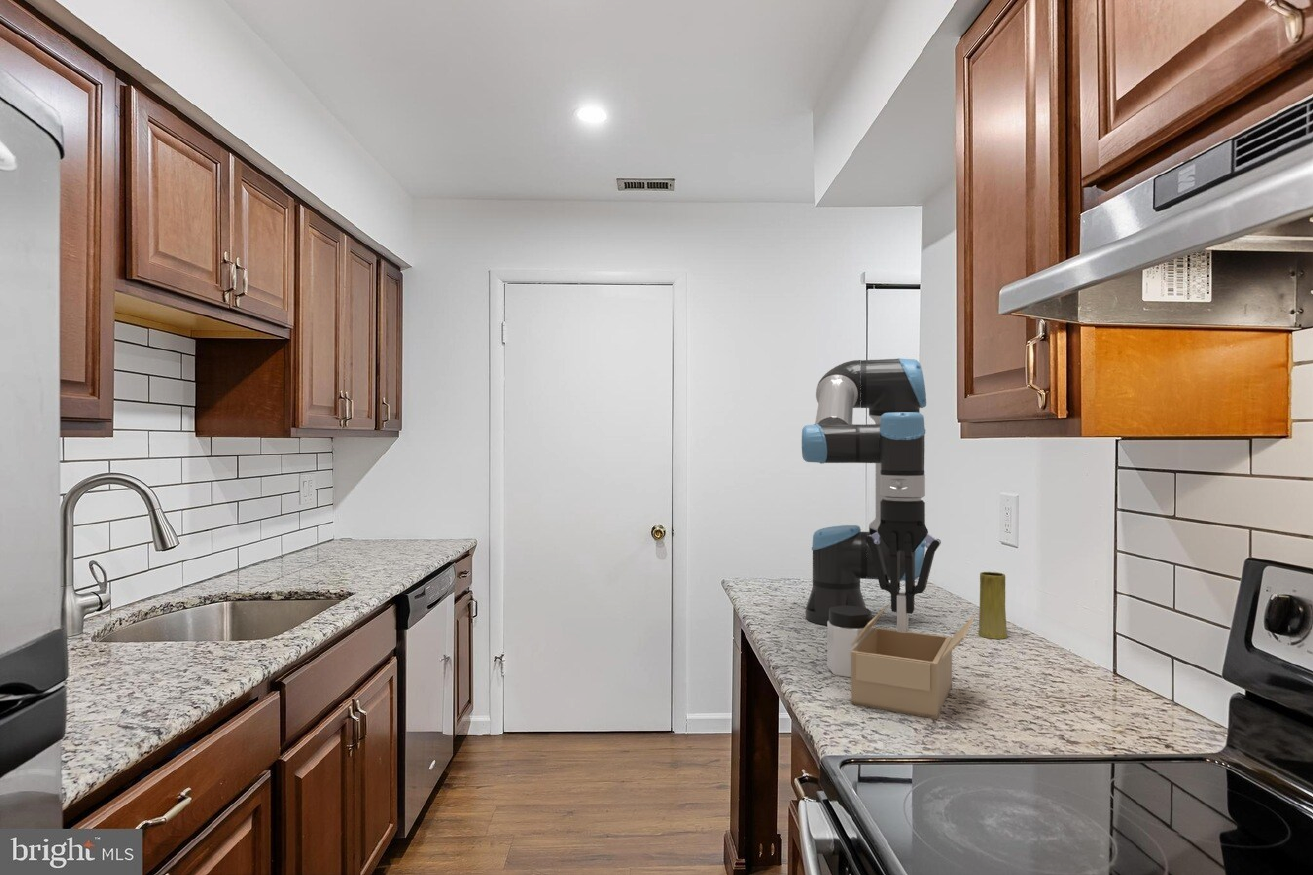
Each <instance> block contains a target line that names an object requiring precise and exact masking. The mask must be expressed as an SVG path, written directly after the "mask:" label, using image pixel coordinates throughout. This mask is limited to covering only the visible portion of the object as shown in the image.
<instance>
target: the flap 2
mask: <svg viewBox="0 0 1313 875" xmlns="http://www.w3.org/2000/svg"><path fill="white" fill-rule="evenodd" d="M974 619H975V616H974V615H972V616H971V617H970V619H968V620H967V621H966V622H965V623H964V624H963V625H962V626H961V627H960V628H959V629H958V630H957V631H956V632H955V633H954V634H953V636H952V640H951V642H950V644H949V645H948V647H947V649H946V651H945V653H944V654H943V656H942V658H943V659H944V658H945V657H946V656H947V655H948V654H949V653H950V652H951V651H952V652H953V650H954V649H955V648H956V647H957V646H959V644H960V643H961V642H962V641H963V640H964V639H965V638H966V636H967V634H968V632H969V629H970V628H971V626H972V623H973V622H974Z"/></svg>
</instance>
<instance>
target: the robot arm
mask: <svg viewBox="0 0 1313 875" xmlns="http://www.w3.org/2000/svg"><path fill="white" fill-rule="evenodd" d="M815 398H816V402H817V404H818V405H817V410H816V417H815V422H814V424H807V425H804V426H803V427H802V430H801V456H802V459H803V461H805V462H806V463H818V464H821V465H822V464H875V517H874V518H875V519H874V520H872V522H870V523H869V525H868V529H869V530H868V531H861V530H862V529H861V527H860V526H859V525H856V524H845V525H843V524H841V525H834V526H828V527H821V528H819V529H817V530H816V531H814V533H813V535H812V547H811V551H812V588H811V591H810V595H809V597H808V601H807V602H806V603H807V604H806V607H805V619H806V620H807V621H809V622H811V623H814V624H819V625H824V626H827V621H829V609H830V608H831V607H835V606H858V607H863V608H867V607H866V603H865V601H864V600H865V599H864V597H863V594H862V591H861V579H863V580H878V584H879V588H880V589H881V590H882V591H886V592H888V593H889V594H890V610H891V612H893V613H896V630H897V632H901V633H906V632H907V631H908V632H909V615H910V614H911V615H913V613H914V612H915V596H916V595H917V594H922V593H923V592H924V591H925V590H926V588H927V585H928V580H929V576H930V574H931V569H932V568H931V567H932V564H933V561H934V556H935V552H936V551H937V549H938V548H939V547H940V545H941V544H942V541H941V539H939V538H935V537H933V536H932V534H929V530H928V529H927V527H926V523H925V522H926V520H925V519H926V518H925V517H926V513H925V512H926V503H925V502H924V500H923V499H922V498H924V497H925V494H926V488H925V487H926V477H925V476H926V475H925V437H926V436H925V434H926V428H925V417H924V415H923V414H922V413H921V411H920V409H923V408H926V407H927V394H926V387H925V380H924V372H923V368H922V365H921V363H920V361H918V360H917V359H914V358H899V357H898V358H888V359H866V360H865V359H857V360H856V359H855V360H849V361H846V362H843V363H840V364H838V365H836V366H834V367H833V368H831V369H830V370H828V371H827V372H826V373H825V374H824V375H822V377H821V378H820V380H819V381H818V383H817V385H816V391H815ZM854 409H868V416H869V417H870V419H872V420H873V422H874V423H875V424H874V423H873V424H872V423H870V424H865V423H864V424H857V423H856V424H853V412H854ZM902 581H904V582H905V583H904V585H905V587H904V589H905V590H904V591H905V592H900V591H901V582H902ZM916 581H917V584H916Z"/></svg>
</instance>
